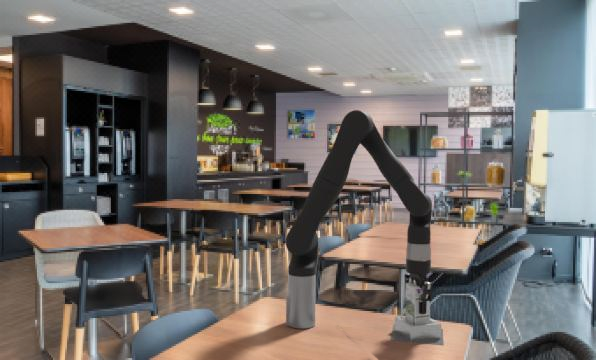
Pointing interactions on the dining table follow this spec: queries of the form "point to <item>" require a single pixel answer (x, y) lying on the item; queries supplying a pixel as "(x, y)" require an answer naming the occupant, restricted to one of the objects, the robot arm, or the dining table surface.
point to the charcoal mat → (397, 337)
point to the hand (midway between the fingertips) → (417, 310)
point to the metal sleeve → (417, 329)
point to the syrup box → (415, 306)
